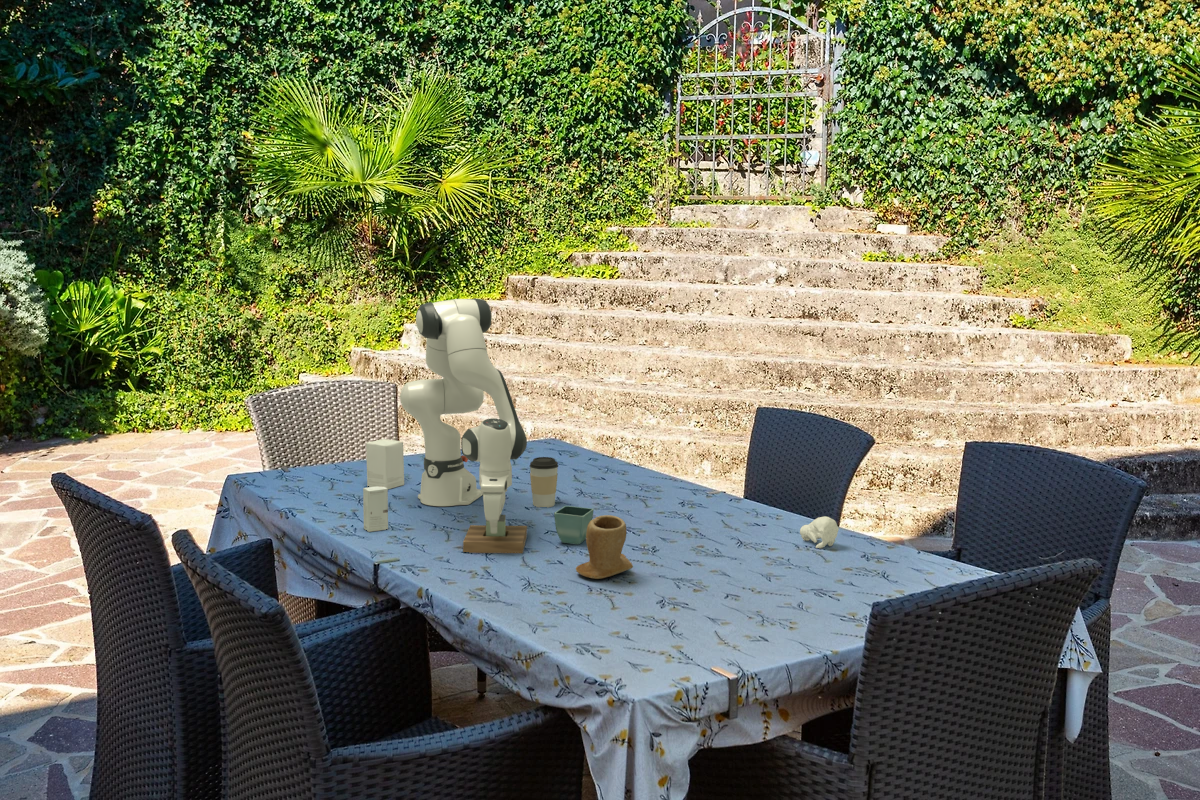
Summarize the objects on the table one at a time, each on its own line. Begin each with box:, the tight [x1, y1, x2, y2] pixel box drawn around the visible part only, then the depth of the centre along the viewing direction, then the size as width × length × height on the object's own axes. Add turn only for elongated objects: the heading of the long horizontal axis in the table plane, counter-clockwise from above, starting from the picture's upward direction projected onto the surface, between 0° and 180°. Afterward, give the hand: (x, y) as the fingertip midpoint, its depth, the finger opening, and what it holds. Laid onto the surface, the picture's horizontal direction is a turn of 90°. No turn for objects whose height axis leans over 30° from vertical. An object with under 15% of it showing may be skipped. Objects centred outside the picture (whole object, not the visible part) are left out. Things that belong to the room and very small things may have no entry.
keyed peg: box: [485, 513, 507, 536], centre depth 299 cm, size 4×5×8 cm
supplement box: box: [365, 438, 405, 490], centre depth 362 cm, size 9×9×15 cm
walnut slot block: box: [462, 524, 528, 554], centre depth 300 cm, size 16×16×3 cm
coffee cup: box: [529, 456, 559, 508], centre depth 340 cm, size 9×9×15 cm
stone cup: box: [575, 514, 634, 580], centre depth 275 cm, size 15×12×15 cm
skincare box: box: [362, 486, 389, 533], centre depth 312 cm, size 6×4×12 cm
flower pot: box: [554, 505, 594, 545], centre depth 302 cm, size 9×9×9 cm
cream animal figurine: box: [799, 516, 840, 549], centre depth 303 cm, size 6×8×12 cm
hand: (495, 528), depth 299 cm, fingers open, 8 cm apart
